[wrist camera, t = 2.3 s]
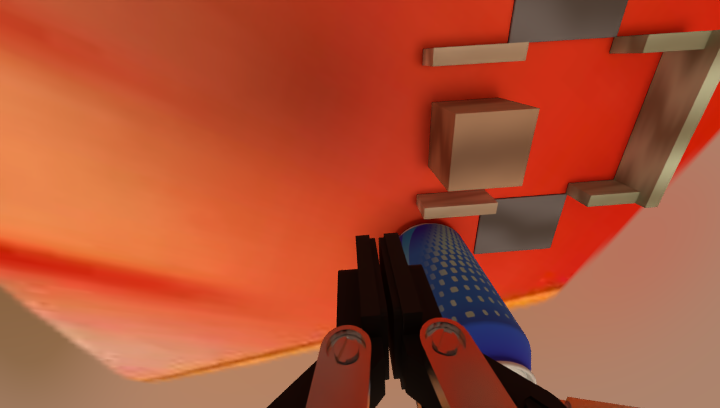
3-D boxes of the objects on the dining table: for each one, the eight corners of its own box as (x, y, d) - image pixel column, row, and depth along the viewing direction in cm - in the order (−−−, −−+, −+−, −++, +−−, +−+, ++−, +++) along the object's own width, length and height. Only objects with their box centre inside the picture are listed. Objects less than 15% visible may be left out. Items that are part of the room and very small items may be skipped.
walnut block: (431, 102, 25) (455, 114, 20) (498, 97, 25) (539, 108, 20) (427, 165, 28) (448, 191, 23) (487, 161, 28) (521, 185, 23)
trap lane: (428, -65, 20) (446, -92, 16) (730, -81, 20) (812, -110, 17) (414, 257, 33) (423, 281, 30) (598, 242, 34) (628, 265, 30)
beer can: (375, 267, 33) (400, 422, 19) (405, 207, 30) (463, 343, 16) (438, 283, 35) (503, 436, 21) (473, 229, 32) (580, 368, 18)
